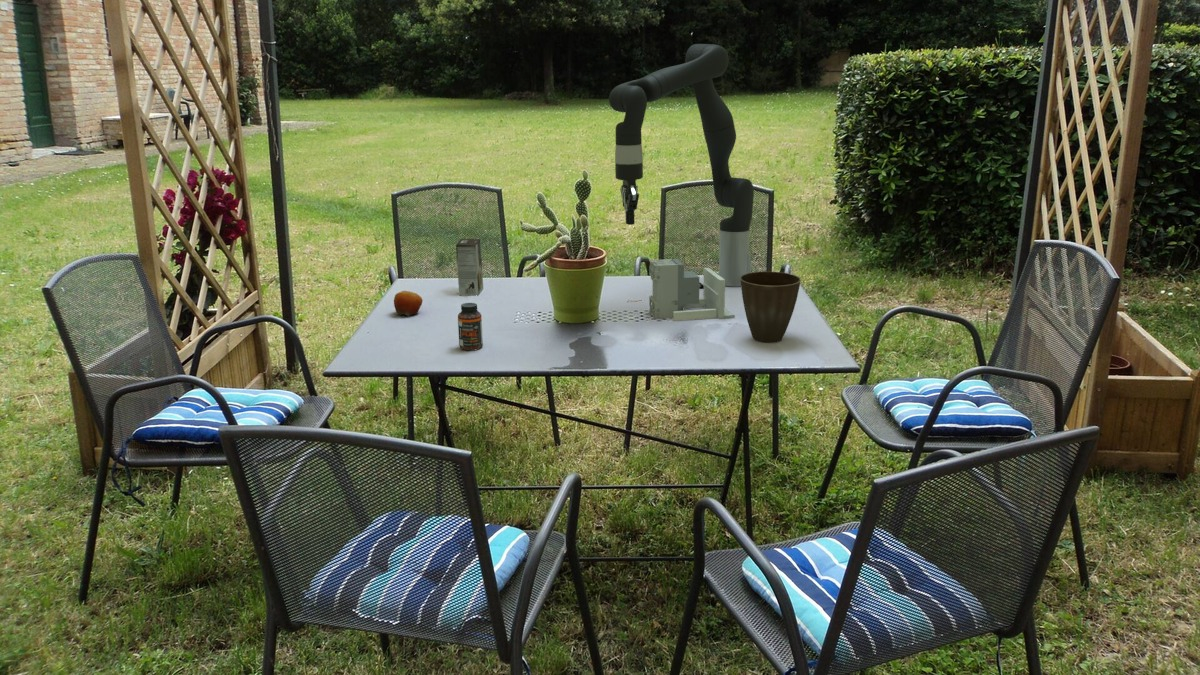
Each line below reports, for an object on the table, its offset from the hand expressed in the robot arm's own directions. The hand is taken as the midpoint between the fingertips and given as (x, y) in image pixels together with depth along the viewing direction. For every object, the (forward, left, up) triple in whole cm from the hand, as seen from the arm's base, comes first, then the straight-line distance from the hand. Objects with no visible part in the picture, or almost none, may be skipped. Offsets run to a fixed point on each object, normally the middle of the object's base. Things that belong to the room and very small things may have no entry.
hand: (630, 224), depth 257 cm
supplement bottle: (+47, +24, -25) cm, 58 cm away
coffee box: (+44, -33, -25) cm, 60 cm away
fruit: (+63, -12, -25) cm, 69 cm away
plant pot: (-28, +35, -25) cm, 52 cm away
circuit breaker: (-12, +6, -25) cm, 29 cm away
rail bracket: (-18, +7, -25) cm, 31 cm away
